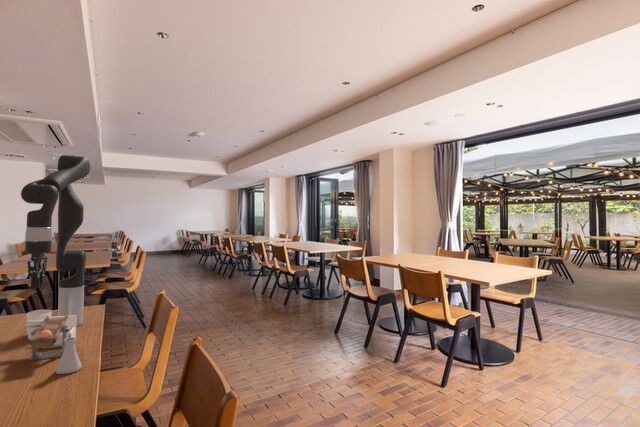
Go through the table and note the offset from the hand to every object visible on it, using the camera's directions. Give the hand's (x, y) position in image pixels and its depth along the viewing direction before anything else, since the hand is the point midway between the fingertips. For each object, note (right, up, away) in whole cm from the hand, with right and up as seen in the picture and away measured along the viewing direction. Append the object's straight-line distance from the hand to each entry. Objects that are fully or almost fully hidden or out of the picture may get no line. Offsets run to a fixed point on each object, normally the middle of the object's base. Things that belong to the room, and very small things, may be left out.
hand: (36, 286), depth 126 cm
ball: (+11, -14, -10) cm, 20 cm away
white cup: (-11, -23, +14) cm, 29 cm away
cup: (+2, -23, +9) cm, 25 cm away
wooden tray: (+6, -15, -5) cm, 17 cm away
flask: (+22, -24, -14) cm, 35 cm away
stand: (+8, -23, -4) cm, 25 cm away
